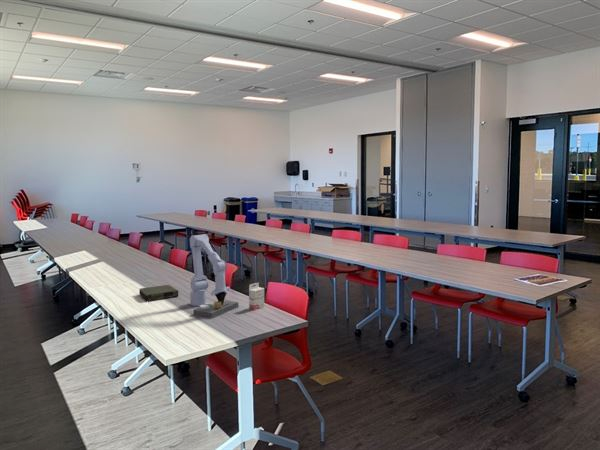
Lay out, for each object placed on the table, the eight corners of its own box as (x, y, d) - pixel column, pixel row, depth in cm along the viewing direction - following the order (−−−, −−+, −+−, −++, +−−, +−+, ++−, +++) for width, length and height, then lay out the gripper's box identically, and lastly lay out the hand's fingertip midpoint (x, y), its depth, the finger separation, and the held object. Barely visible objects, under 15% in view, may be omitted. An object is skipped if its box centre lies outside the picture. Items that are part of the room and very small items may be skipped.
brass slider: (214, 307, 261) (214, 301, 260) (217, 306, 263) (217, 300, 263) (218, 308, 259) (218, 302, 259) (221, 307, 262) (221, 301, 261)
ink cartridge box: (254, 310, 266) (254, 285, 265) (249, 308, 270) (248, 284, 268) (265, 306, 273) (264, 283, 271) (259, 305, 276) (258, 282, 275)
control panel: (193, 314, 259) (193, 309, 259) (220, 304, 280) (220, 299, 280) (212, 318, 253) (212, 312, 252) (238, 307, 273) (238, 302, 273)
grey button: (199, 310, 261) (199, 306, 261) (204, 308, 264) (204, 304, 264) (204, 311, 259) (204, 307, 259) (209, 309, 262) (209, 305, 262)
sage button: (207, 307, 267) (207, 303, 267) (212, 305, 270) (212, 301, 270) (212, 308, 265) (212, 304, 265) (217, 306, 268) (217, 302, 268)
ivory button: (215, 304, 273) (215, 300, 273) (219, 302, 276) (219, 299, 276) (220, 305, 271) (220, 301, 271) (224, 303, 274) (224, 299, 274)
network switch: (147, 303, 287) (147, 295, 286) (135, 296, 305) (134, 289, 304) (182, 296, 301) (181, 289, 301) (168, 290, 319) (167, 283, 319)
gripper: (217, 285, 254) (218, 308, 255) (233, 280, 266) (234, 302, 268) (207, 284, 257) (208, 307, 259) (224, 278, 270) (224, 300, 271)
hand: (221, 304), depth 264 cm, fingers closed
